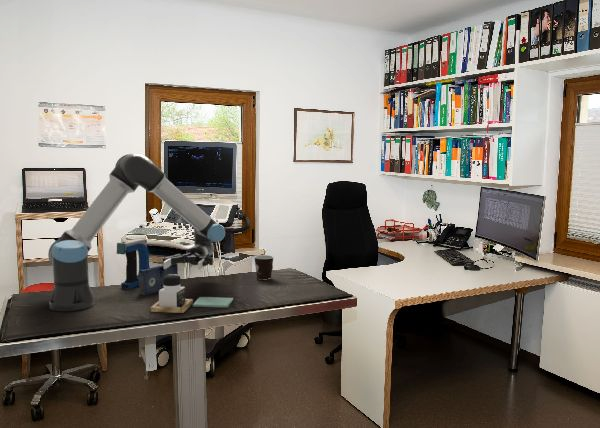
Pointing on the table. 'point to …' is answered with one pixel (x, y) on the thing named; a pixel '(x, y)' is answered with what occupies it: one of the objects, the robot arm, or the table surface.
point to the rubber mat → (213, 302)
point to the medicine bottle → (172, 292)
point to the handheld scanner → (134, 260)
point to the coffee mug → (263, 266)
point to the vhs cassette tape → (154, 278)
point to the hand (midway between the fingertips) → (181, 265)
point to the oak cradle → (172, 309)
